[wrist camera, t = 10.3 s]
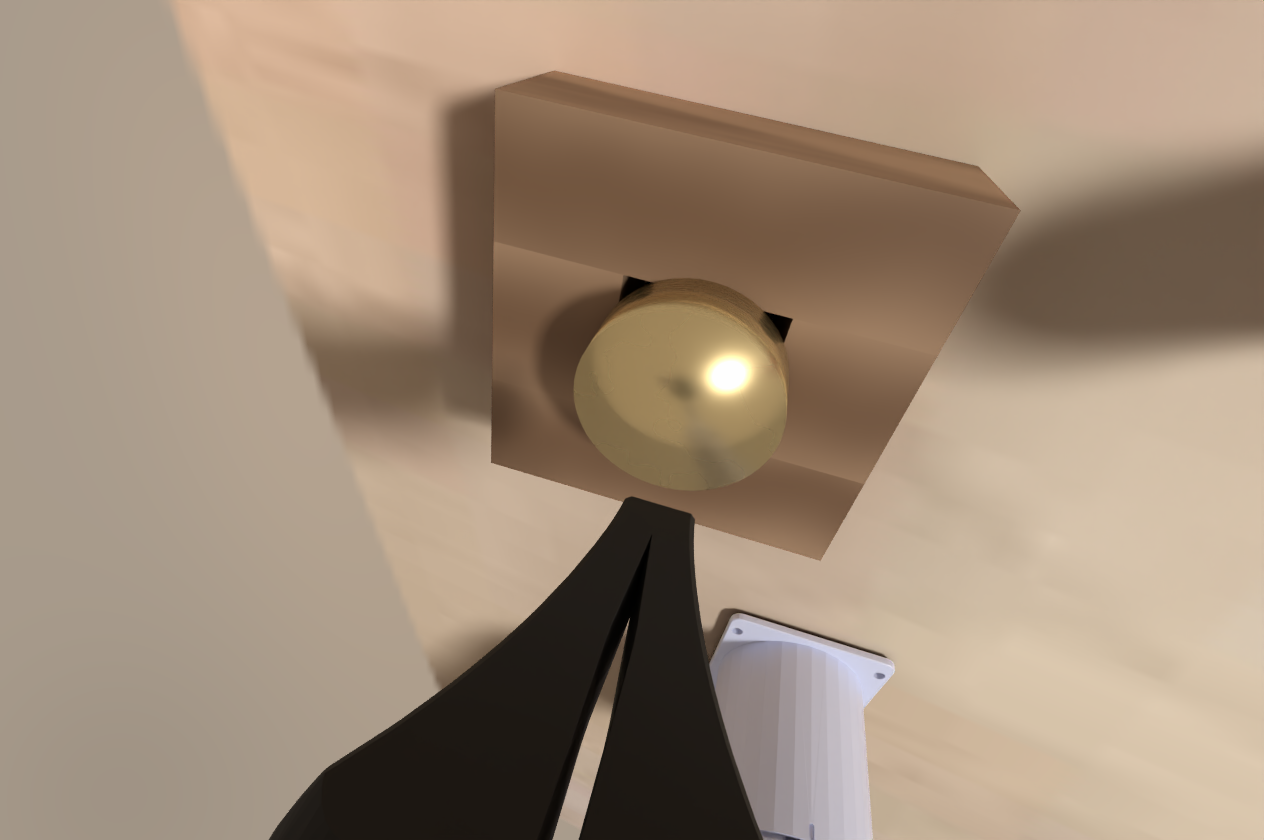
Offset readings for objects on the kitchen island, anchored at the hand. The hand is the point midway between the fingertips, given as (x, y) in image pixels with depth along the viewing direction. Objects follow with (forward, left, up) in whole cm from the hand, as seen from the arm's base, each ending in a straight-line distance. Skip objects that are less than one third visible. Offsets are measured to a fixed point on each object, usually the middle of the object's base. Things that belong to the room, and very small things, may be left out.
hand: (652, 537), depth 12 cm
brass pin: (0, 0, -10) cm, 10 cm away
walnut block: (0, 0, -10) cm, 10 cm away
